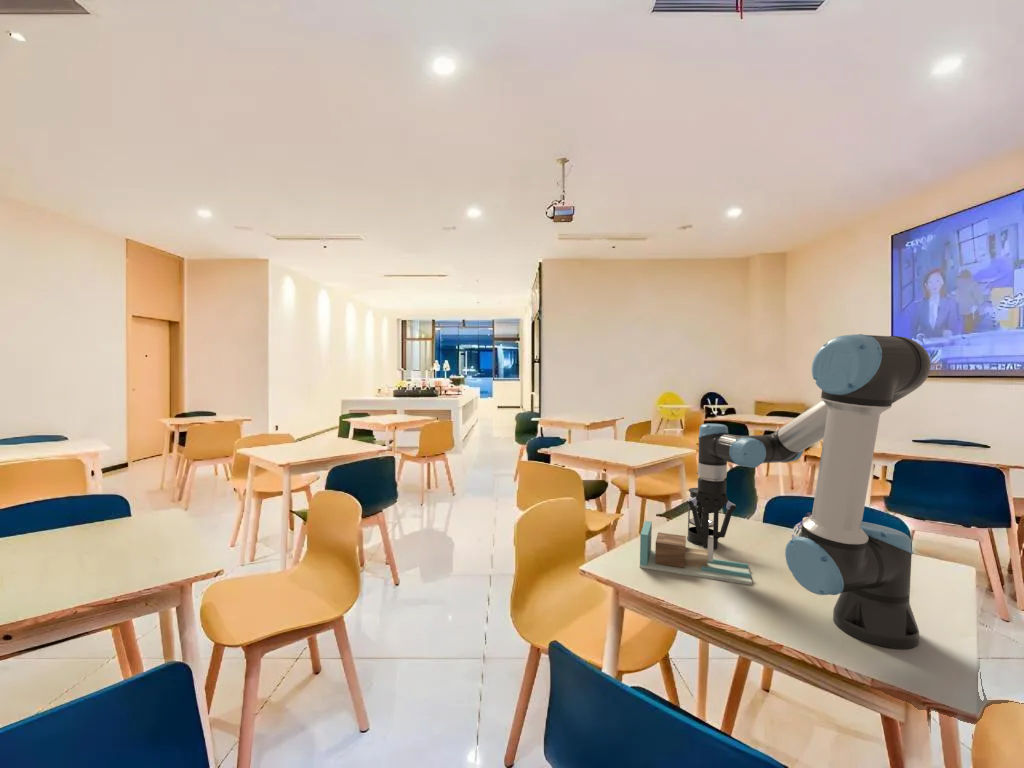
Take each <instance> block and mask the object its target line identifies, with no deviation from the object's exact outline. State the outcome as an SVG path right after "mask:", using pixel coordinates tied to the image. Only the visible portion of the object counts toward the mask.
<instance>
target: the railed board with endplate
mask: <svg viewBox="0 0 1024 768" xmlns="http://www.w3.org/2000/svg"><path fill="white" fill-rule="evenodd" d="M652 523H653V521H649V520H644V523H643V526H642V529H641V531H640V535H639V536H640V543H639V544H640V545H639V546H640V547H639V568H640V569H641V568H642V569H646V570H653V571H658V572H664V573H665V572H666V573H673V574H679V575H683V576H684V575H685V576H691V577H697V578H704V579H709V580H715V581H716V580H718V581H723V582H729V583H736V584H741V585H742V584H743V585H748V586H750V585H751V586H752V585H753V581H752V574H751V572H750V570H749V563H746V562H745V563H744V562H738V561H731V560H722V559H716V558H713V562H711V561H707V567H705V566H701V568H697V567H690V566H685V568H682V567H675V566H669V565H662V564H655V550H653V549H652V532H653V531H652Z"/></svg>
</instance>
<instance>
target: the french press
mask: <svg viewBox="0 0 1024 768" xmlns="http://www.w3.org/2000/svg"><path fill="white" fill-rule="evenodd" d="M696 475H698V472H696ZM688 492H689V497H691V499H693V498H695V497H696V494H697V492H698V487H692V488H691V487H690V488H689V489H688ZM687 505H688V509H687V510H688V511H687V513H688V514H687V520H688V521H687V536H686V540H687V541H688V542H690V543H691V544H694V545H698V546H703V536H702V535H699V534H697V531H696V526H695V522H694V518H693V517H692V518H690V513H691V512H690V511H692V509H691V508H690V506H689V504H687ZM696 509H697V513H698V517H699V522H700V526H701V529H702V530H704V509H703V508H702V507H701V505H700V504H699V502H698V501H697V505H696ZM709 514H714V511H709ZM713 521H714V520H713V519H709V523H708V535H709V536H713V529H712V528H713ZM690 525H692V526H690Z"/></svg>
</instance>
